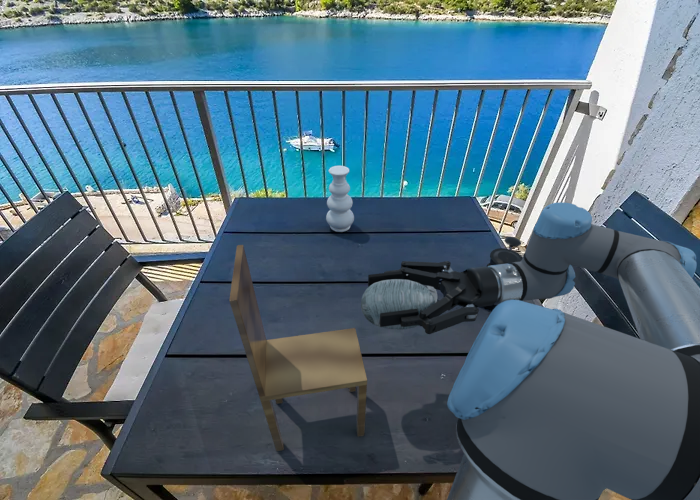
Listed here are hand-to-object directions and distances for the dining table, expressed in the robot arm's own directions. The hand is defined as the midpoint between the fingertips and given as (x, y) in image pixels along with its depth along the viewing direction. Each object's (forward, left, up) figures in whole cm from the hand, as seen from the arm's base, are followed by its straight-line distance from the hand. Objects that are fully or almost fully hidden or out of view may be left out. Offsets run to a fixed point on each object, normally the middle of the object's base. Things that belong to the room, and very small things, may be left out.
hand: (374, 299), depth 63 cm
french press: (+24, -44, -33) cm, 60 cm away
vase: (+71, -4, -33) cm, 78 cm away
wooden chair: (-3, +12, -33) cm, 35 cm away
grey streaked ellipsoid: (0, -5, -6) cm, 8 cm away
